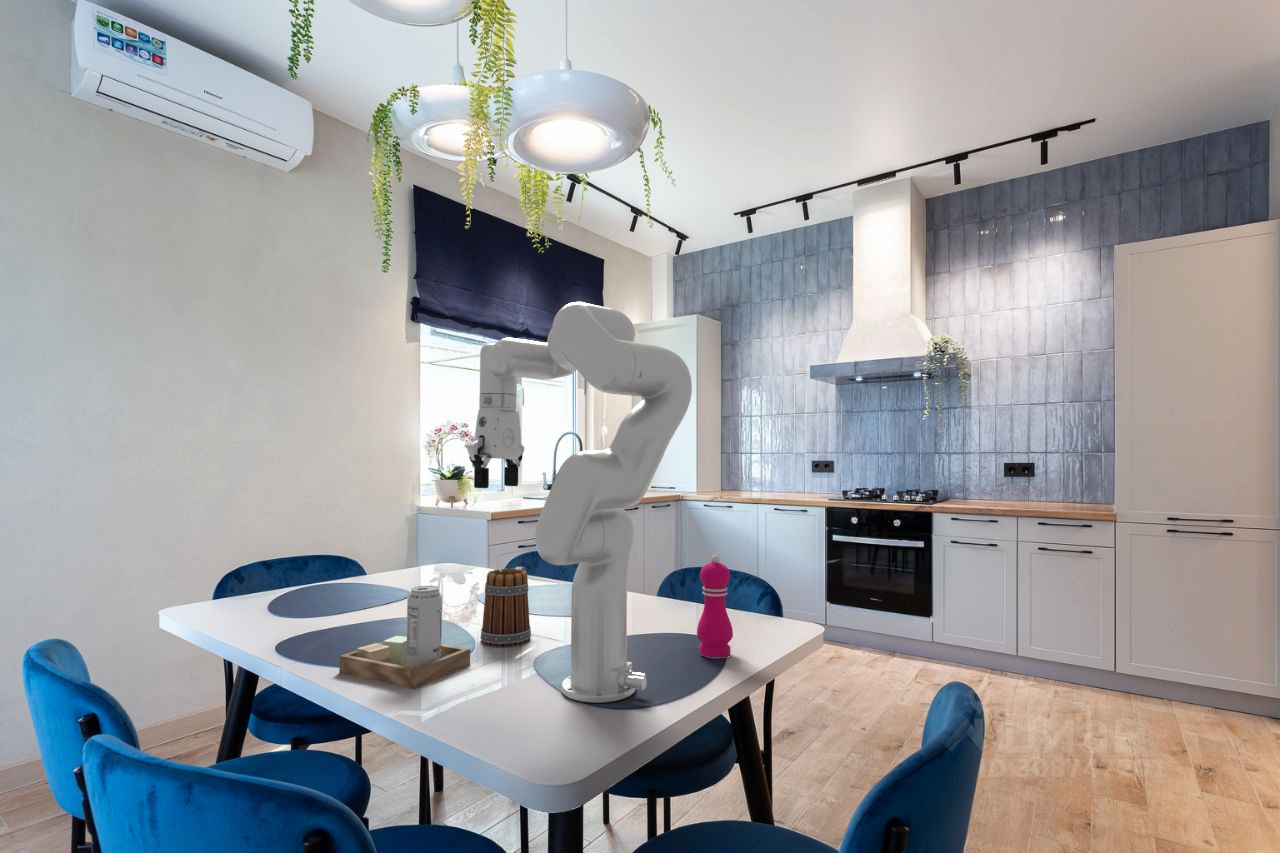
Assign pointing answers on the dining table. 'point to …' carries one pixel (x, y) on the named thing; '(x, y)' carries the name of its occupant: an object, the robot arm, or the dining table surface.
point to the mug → (506, 608)
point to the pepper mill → (714, 611)
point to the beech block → (375, 652)
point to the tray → (406, 668)
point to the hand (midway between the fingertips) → (496, 486)
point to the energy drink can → (423, 626)
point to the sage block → (397, 649)
